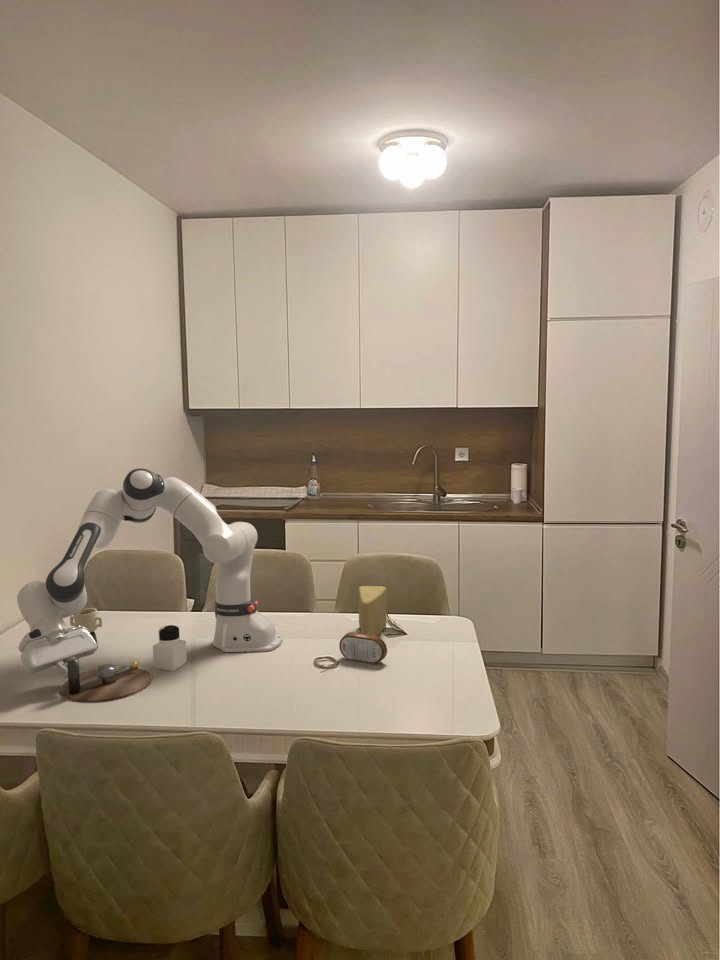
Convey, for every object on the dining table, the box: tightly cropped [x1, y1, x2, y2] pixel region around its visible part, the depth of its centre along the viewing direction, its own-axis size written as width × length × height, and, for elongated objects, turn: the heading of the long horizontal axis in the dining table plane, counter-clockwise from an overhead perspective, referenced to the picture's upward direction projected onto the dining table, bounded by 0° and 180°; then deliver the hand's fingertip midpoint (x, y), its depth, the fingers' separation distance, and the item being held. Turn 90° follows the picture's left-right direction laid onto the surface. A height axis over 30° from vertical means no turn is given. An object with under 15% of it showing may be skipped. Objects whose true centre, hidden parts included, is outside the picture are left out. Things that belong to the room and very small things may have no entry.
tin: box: [339, 631, 388, 665], centre depth 226 cm, size 15×3×8 cm, turn 65°
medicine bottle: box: [152, 624, 187, 672], centre depth 224 cm, size 7×7×12 cm
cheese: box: [358, 585, 388, 637], centre depth 247 cm, size 22×10×15 cm, turn 173°
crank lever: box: [66, 658, 140, 694], centre depth 210 cm, size 5×22×9 cm, turn 147°
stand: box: [61, 665, 153, 703], centre depth 211 cm, size 24×24×1 cm
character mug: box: [69, 607, 103, 649], centre depth 239 cm, size 11×7×13 cm, turn 81°
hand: (71, 674), depth 204 cm, fingers closed
